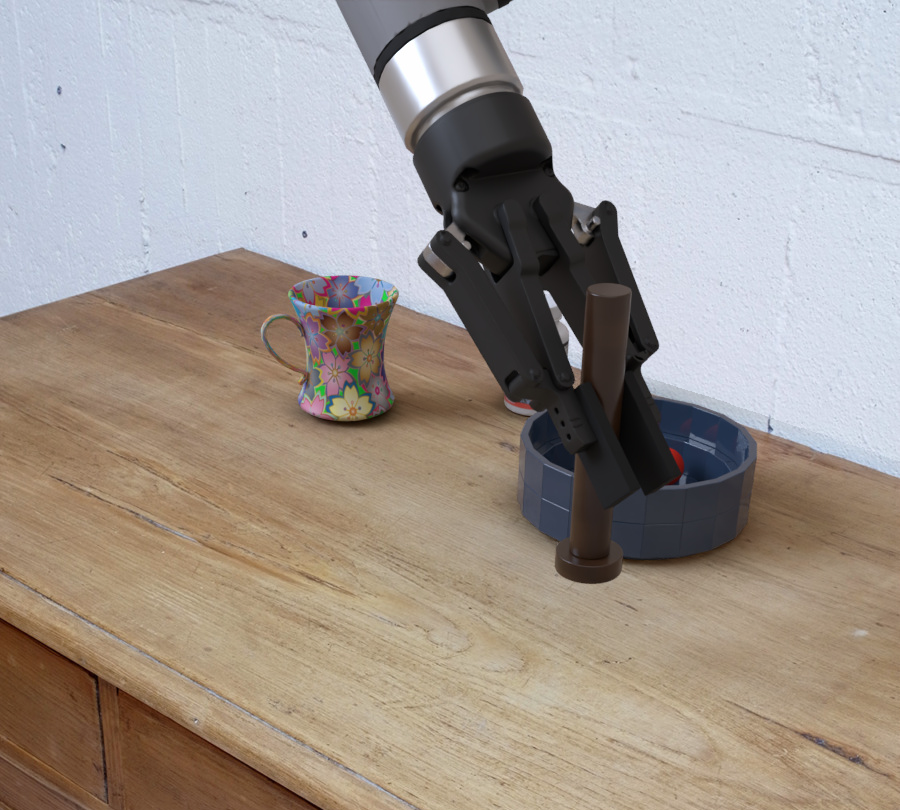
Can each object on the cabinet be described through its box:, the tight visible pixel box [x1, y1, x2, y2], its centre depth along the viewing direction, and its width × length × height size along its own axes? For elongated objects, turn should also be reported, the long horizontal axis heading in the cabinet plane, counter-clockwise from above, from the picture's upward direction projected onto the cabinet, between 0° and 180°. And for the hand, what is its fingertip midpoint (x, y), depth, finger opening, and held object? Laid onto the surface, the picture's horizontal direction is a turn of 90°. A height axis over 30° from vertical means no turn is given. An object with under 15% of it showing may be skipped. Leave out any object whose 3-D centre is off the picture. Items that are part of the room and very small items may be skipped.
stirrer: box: [554, 283, 632, 585], centre depth 74 cm, size 4×4×17 cm
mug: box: [260, 274, 400, 422], centre depth 113 cm, size 12×9×11 cm
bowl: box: [516, 395, 758, 561], centre depth 98 cm, size 17×17×6 cm
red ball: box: [665, 448, 684, 486], centre depth 102 cm, size 3×3×3 cm
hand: (642, 491), depth 72 cm, fingers closed on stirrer, 2 cm apart
